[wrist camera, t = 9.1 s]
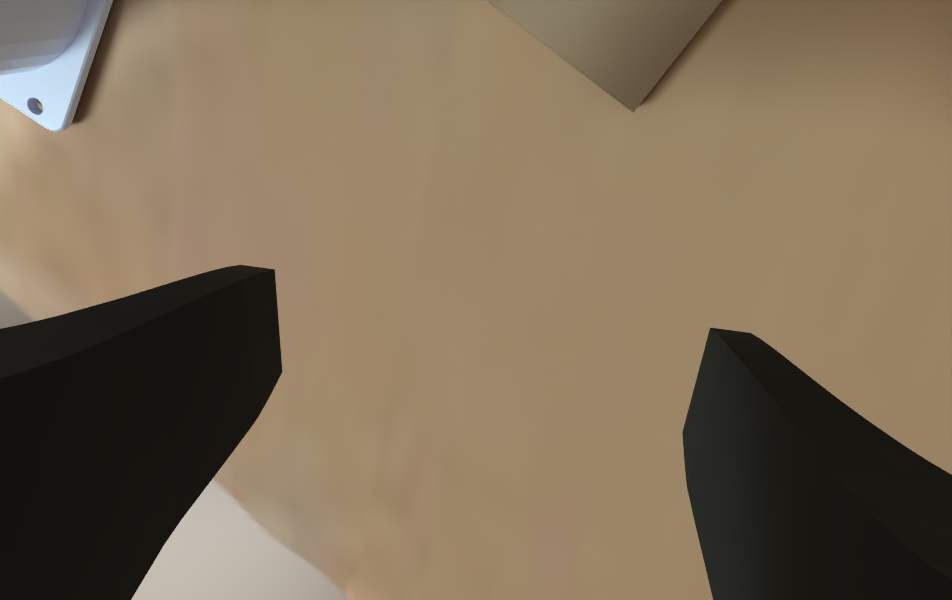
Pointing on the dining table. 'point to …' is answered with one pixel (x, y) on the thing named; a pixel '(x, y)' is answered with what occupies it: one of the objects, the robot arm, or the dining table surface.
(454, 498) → the dining table surface
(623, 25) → the can socket
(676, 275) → the dining table surface
